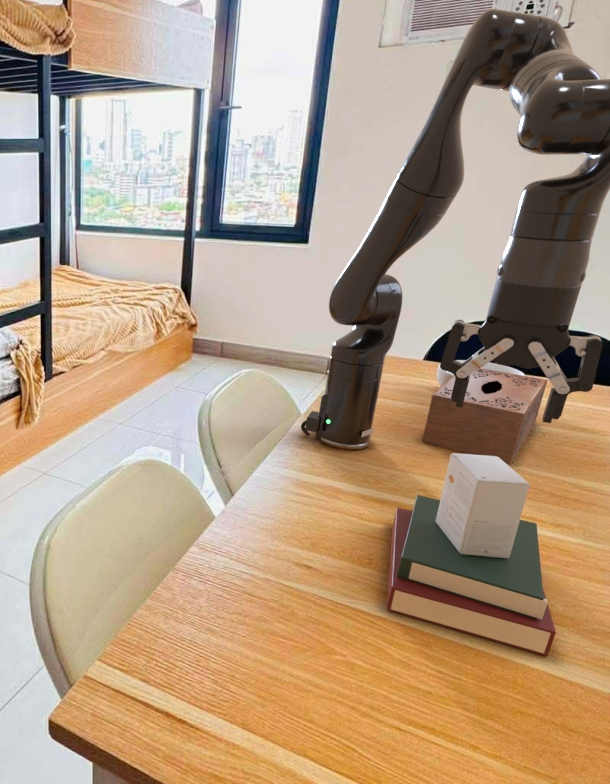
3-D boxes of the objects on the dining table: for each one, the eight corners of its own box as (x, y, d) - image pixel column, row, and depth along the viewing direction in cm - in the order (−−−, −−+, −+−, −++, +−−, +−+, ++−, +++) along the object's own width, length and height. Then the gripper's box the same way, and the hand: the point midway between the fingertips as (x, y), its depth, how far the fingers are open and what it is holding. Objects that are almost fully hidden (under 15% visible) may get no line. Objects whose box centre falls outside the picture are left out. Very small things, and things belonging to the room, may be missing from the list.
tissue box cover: (455, 407, 142) (465, 365, 138) (534, 424, 132) (547, 379, 129) (421, 441, 125) (432, 394, 121) (510, 464, 115) (524, 414, 112)
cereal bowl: (435, 382, 158) (441, 355, 156) (517, 394, 149) (525, 366, 146) (429, 402, 145) (435, 373, 143) (518, 417, 136) (527, 386, 133)
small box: (509, 560, 77) (532, 484, 73) (458, 555, 78) (478, 480, 74) (479, 525, 84) (499, 455, 81) (433, 521, 85) (450, 451, 82)
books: (386, 610, 78) (396, 566, 76) (392, 526, 96) (400, 489, 94) (548, 657, 71) (565, 610, 68) (522, 557, 88) (534, 517, 86)
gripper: (620, 279, 68) (575, 416, 74) (464, 268, 77) (435, 392, 82) (628, 291, 63) (580, 437, 69) (459, 277, 71) (428, 409, 77)
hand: (501, 412), depth 75 cm, fingers open, 8 cm apart
